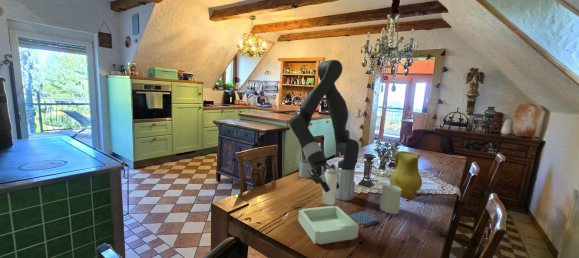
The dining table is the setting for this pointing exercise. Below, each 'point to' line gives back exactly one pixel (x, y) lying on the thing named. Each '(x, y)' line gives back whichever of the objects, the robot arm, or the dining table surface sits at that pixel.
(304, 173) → the mug
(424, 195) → the dining table surface
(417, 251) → the dining table surface
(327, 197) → the salt shaker
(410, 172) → the pitcher
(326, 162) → the robot arm
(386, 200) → the can
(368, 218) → the woven mat
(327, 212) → the sage bin
